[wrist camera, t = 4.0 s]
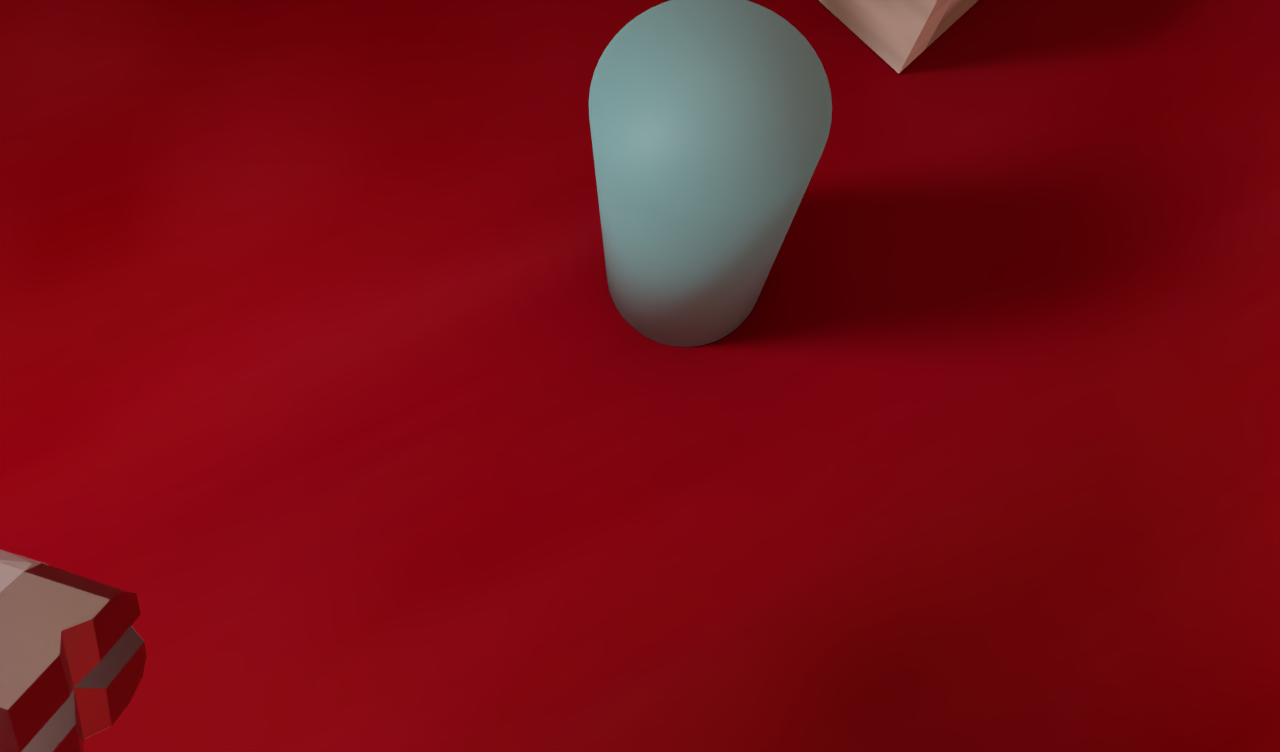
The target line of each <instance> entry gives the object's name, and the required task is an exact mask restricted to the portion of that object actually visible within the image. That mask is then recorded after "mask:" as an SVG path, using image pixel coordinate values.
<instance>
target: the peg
mask: <svg viewBox="0 0 1280 752" xmlns="http://www.w3.org/2000/svg"><path fill="white" fill-rule="evenodd" d="M831 117H832V101H831V91H830V87H829V83H828V78H827V76H826V73H825V70H824V68H823V65H822V63H821V61H820V59H819V57H818V56H817V54H816V52H815V50H814V49H813V48H812V46H811V45H810V44H809V42H808V41H807V39H806V38H805V37H804V36H803V35H802V34H801V33H800V32H799V31H798V30H797V29H796V28H795V27H794V26H793V25H791V24H790V23H789V22H788V21H786V20H785V19H784V18H782V17H781V16H779V15H778V14H776V13H774V12H773V11H771V10H769V9H767V8H765V7H763V6H761V5H758V4H756V3H753V2H750V1H747V0H670V1H667V2H664V3H662V4H659V5H657V6H655V7H652V8H650V9H649V10H647V11H645V12H643V13H642V14H640V15H638V16H637V17H636V18H634V19H633V20H632V21H630V22H629V23H628V24H626V25H625V26H624V27H623V28H622V29H621V30H620V31H619V32H618V33H617V34H616V35H615V37H614V38H613V39H612V40H611V42H610V43H609V44H608V46H607V47H606V49H605V51H604V52H603V54H602V56H601V57H600V59H599V62H598V64H597V66H596V69H595V71H594V74H593V78H592V82H591V86H590V94H589V119H590V128H591V137H592V146H593V155H594V164H595V173H596V182H597V191H598V200H599V209H600V218H601V227H602V237H603V246H604V255H605V264H606V273H607V281H608V287H609V291H610V294H611V297H612V300H613V302H614V304H615V306H616V308H617V309H618V311H619V312H620V314H621V315H622V317H623V318H624V319H625V320H626V321H627V322H628V324H630V325H631V326H632V327H633V328H634V329H635V330H636V331H638V332H639V333H641V334H642V335H644V336H646V337H648V338H650V339H651V340H654V341H656V342H659V343H662V344H666V345H670V346H678V347H694V346H700V345H705V344H708V343H712V342H715V341H717V340H719V339H721V338H723V337H725V336H726V335H728V334H730V333H731V332H733V331H734V330H735V329H736V328H737V327H739V326H740V325H741V324H742V323H743V321H744V320H745V319H746V318H747V317H748V315H749V314H750V312H751V311H752V309H753V307H754V306H755V304H756V302H757V299H758V297H759V295H760V293H761V290H762V288H763V286H764V284H765V281H766V279H767V277H768V275H769V272H770V270H771V268H772V265H773V263H774V261H775V259H776V256H777V254H778V252H779V250H780V247H781V245H782V243H783V241H784V238H785V236H786V234H787V232H788V229H789V227H790V225H791V223H792V220H793V218H794V216H795V213H796V211H797V209H798V207H799V204H800V202H801V200H802V198H803V195H804V193H805V191H806V189H807V186H808V184H809V182H810V180H811V177H812V175H813V173H814V171H815V168H816V166H817V164H818V161H819V159H820V157H821V155H822V152H823V150H824V147H825V144H826V142H827V139H828V136H829V131H830V126H831Z"/></svg>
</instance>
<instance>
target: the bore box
mask: <svg viewBox="0 0 1280 752" xmlns="http://www.w3.org/2000/svg"><path fill="white" fill-rule="evenodd" d="M818 1H820V2H821V3H822V4H823V5H824V6H825V7H826V8H827V9H828V10H829V11H830V12H832V13H833V14H834V15H835V16H836V17H837V18H838V19H839V20H840V21H841V22H843V23H844V24H845V25H846V26H847V27H848V28H849V29H850V30H851V31H852V32H853V33H855V34H856V35H857V36H858V37H859V38H860V39H861V40H862V41H863V42H864V43H866V44H867V45H868V46H869V47H870V48H871V49H872V50H873V51H874V52H875V53H876V54H878V55H879V56H880V57H881V58H882V59H883V60H884V61H885V62H886V63H887V64H888V65H890V66H891V67H892V68H893V69H894V70H895V71H896V72H897V73H898V74H899V73H900V72H901V71H902V70H903V69H905V68H906V67H907V66H908V65H909V64H910V63H911V62H912V61H913V60H914V59H915V58H916V57H918V56H919V55H920V54H921V53H922V52H923V51H924V50H925V49H926V48H927V47H928V46H930V45H931V44H932V43H933V42H934V41H935V40H936V39H937V38H938V37H939V36H940V35H941V34H943V33H944V32H945V31H946V30H947V29H948V28H949V27H950V26H951V25H952V24H953V23H955V22H956V21H957V20H958V19H959V18H960V17H961V16H962V15H963V14H964V13H965V12H966V11H968V10H969V9H970V8H971V7H972V6H973V5H974V4H975V3H976V2H977V1H978V0H818Z"/></svg>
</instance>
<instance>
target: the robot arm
mask: <svg viewBox="0 0 1280 752" xmlns="http://www.w3.org/2000/svg"><path fill="white" fill-rule="evenodd" d="M140 615H141V614H140V610H139V605H138V600H137V595H136V594H135V593H132V592H129V591H126V590H123V589H120V588H117V587H114V586H111V585H108V584H105V583H101V582H98V581H95V580H92V579H89V578H86V577H83V576H80V575H77V574H74V573H71V572H68V571H65V570H62V569H59V568H55V567H52V566H49V565H48V564H45V563H42V562H39V561H36V560H33V559H29V558H26V557H23V556H20V555H16V554H13V553H10V552H7V551H4V550H0V752H84V739H85V738H87V737H89V736H92V735H94V734H96V733H98V732H100V731H102V730H104V729H106V728H108V727H110V726H112V725H113V724H114V722H115V721H116V720H117V718H118V717H119V716H120V714H121V713H122V712H123V711H124V709H125V708H126V707H127V705H128V704H129V703H130V701H131V699H132V697H133V695H134V693H135V691H136V688H137V686H138V684H139V682H140V680H141V678H142V676H143V671H144V665H145V660H146V652H145V644H144V641H143V640H142V638H141V637H140V636H139V635H138V634H137V632H136V631H135V630H134V629H133V628H132V626H131V625H132V624H133V623H134V622H135V620H136V619H137V618H138V617H139V616H140Z"/></svg>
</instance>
